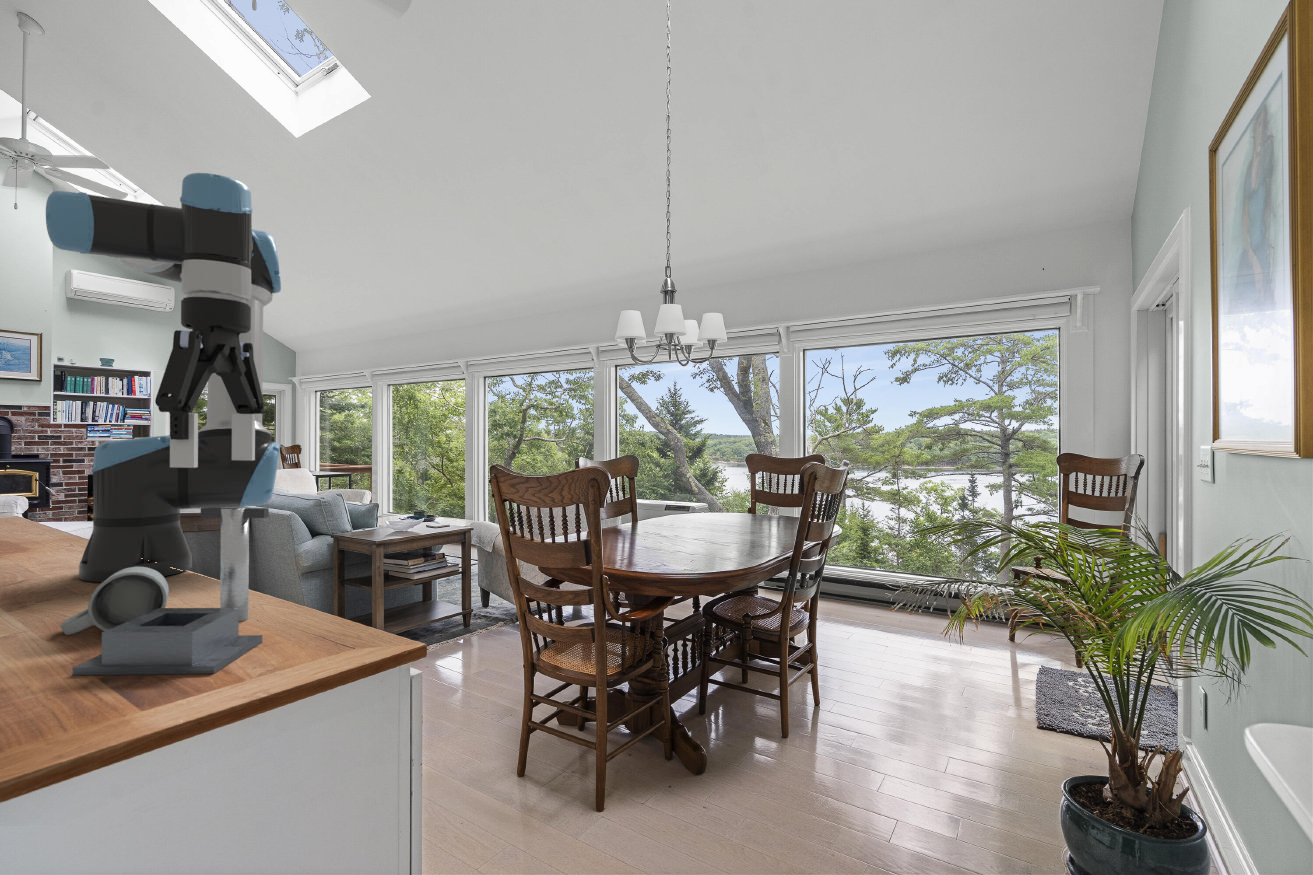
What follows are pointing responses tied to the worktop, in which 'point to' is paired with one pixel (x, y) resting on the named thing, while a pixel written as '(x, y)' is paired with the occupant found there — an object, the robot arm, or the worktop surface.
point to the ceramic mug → (121, 600)
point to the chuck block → (171, 643)
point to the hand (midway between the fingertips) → (215, 463)
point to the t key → (234, 554)
